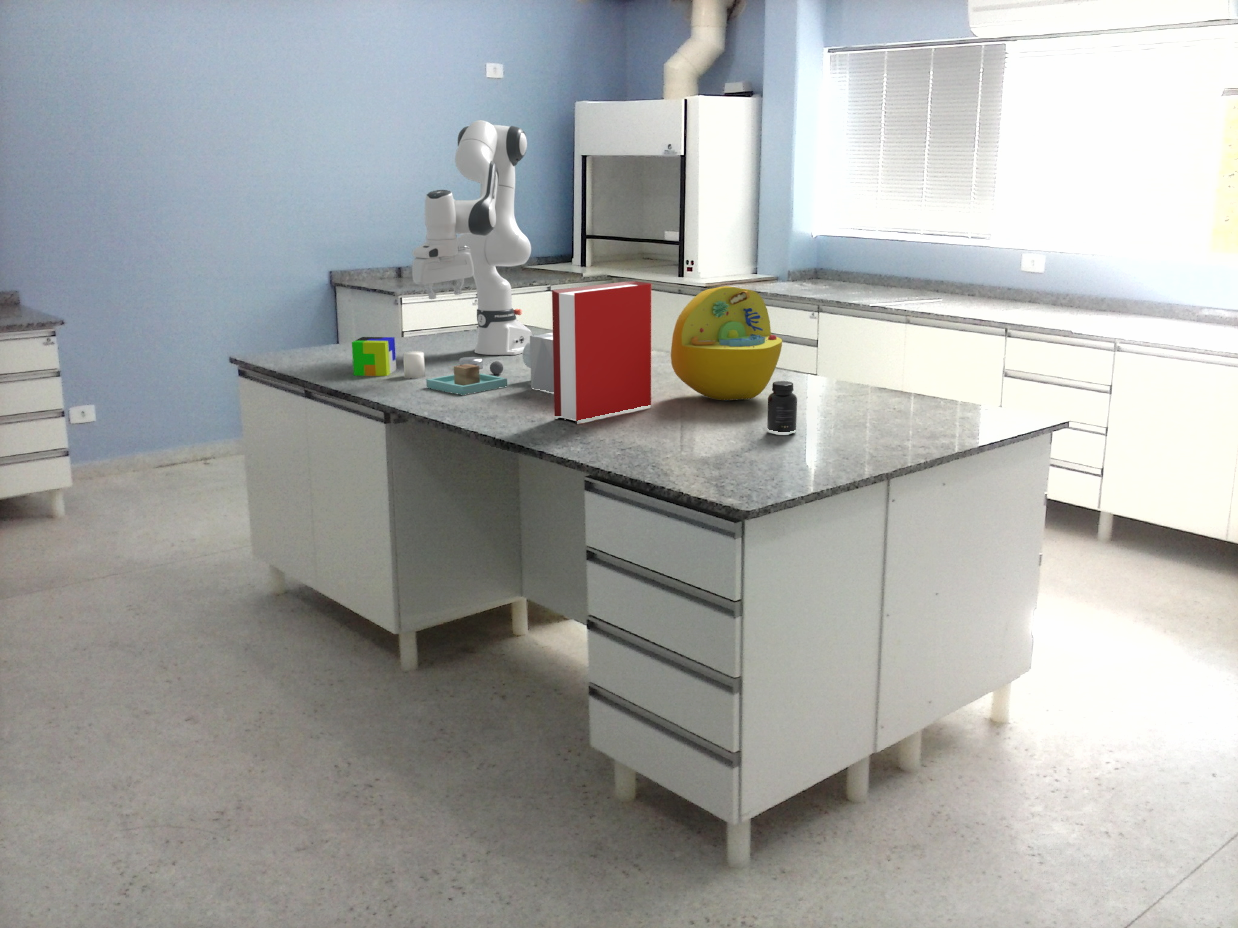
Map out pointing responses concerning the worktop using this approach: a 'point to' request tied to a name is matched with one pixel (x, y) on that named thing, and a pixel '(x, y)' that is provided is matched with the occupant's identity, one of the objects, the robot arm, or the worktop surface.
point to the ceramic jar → (414, 364)
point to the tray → (448, 385)
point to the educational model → (725, 344)
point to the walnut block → (466, 374)
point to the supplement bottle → (782, 407)
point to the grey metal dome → (472, 361)
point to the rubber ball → (496, 368)
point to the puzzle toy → (374, 356)
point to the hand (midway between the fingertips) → (445, 296)
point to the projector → (540, 361)
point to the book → (601, 349)
